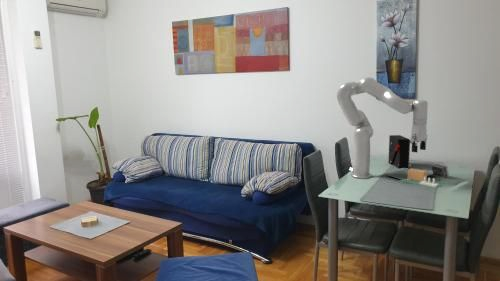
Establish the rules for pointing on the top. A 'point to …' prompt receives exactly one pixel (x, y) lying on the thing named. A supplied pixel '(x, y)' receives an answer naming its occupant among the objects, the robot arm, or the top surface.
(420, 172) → the plug housing
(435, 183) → the pin header board
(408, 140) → the electrical component
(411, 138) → the robot arm
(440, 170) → the electrical switch
